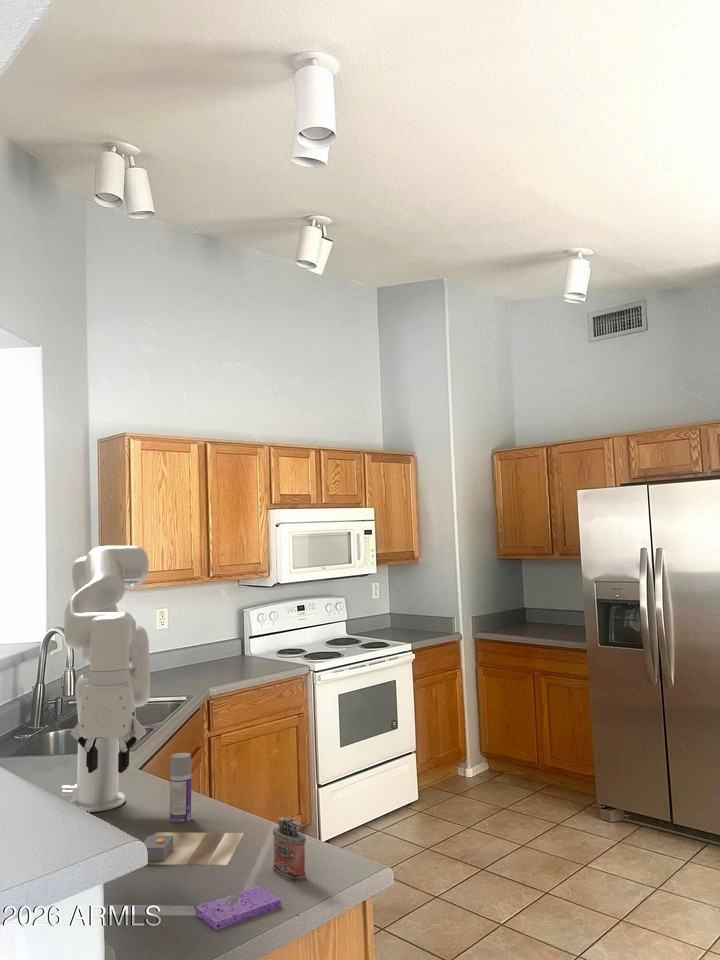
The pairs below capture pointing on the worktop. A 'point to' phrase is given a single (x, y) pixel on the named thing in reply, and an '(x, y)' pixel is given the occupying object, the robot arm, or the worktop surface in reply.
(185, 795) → the container
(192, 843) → the board
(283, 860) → the lighter
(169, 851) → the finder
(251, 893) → the sponges
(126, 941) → the worktop surface
